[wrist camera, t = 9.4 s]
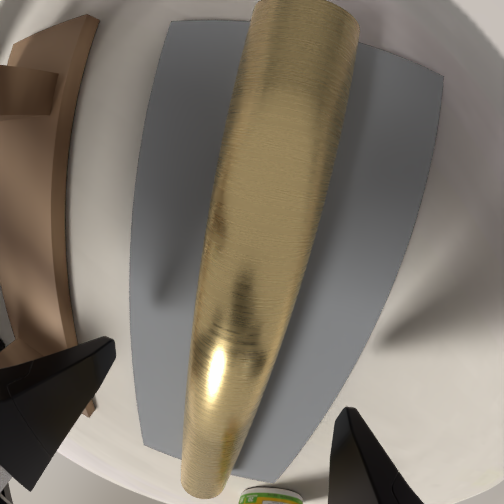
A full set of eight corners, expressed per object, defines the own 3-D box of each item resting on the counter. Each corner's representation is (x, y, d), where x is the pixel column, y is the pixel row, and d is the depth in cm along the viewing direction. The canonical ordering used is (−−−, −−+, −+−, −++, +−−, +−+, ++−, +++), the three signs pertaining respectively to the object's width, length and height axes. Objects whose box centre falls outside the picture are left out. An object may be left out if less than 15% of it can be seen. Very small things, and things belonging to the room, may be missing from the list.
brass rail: (227, 469, 15) (220, 503, 12) (186, 459, 15) (176, 492, 13) (348, 51, 7) (372, 13, 4) (259, 32, 7) (247, -13, 4)
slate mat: (274, 478, 16) (274, 483, 15) (146, 440, 16) (143, 444, 16) (438, 79, 7) (443, 76, 6) (176, 26, 8) (171, 21, 7)
